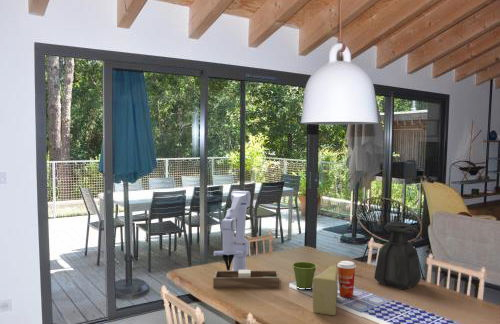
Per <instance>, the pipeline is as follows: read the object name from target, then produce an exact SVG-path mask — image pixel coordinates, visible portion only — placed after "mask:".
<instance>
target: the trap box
mask: <svg viewBox="0 0 500 324" xmlns="http://www.w3.org/2000/svg"><path fill="white" fill-rule="evenodd" d="M212 278H213V279H212V281H213V282H212V283H213V284H212V285H213V288H280V274H279V270H251V278H238V271H232V270H215V271H214V275H213V277H212Z"/></svg>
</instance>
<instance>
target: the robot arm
mask: <svg viewBox="0 0 500 324" xmlns="http://www.w3.org/2000/svg"><path fill="white" fill-rule="evenodd" d="M251 196H252V195H251V192H250V190H232V191H231V193H230V200H231V206H230V208H228V209H227V211H226V213H225V216H224V218H222V219H221V221H220V230H221V234H222V250H214V251H213V256H214V257H215V256H216V257H217V256H222V259H223V262H224V263H225V266H226V271H239V270H248V267H247V256H249V253H250V241H249V240H248V239H247V238H246V237H245V235H246V234H245V233H246V221H247V219H246V217H247V209H248V207H250V206H251V198H252V197H251ZM235 229H236V230H235ZM231 265H232V268H231Z"/></svg>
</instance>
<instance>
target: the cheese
mask: <svg viewBox="0 0 500 324" xmlns="http://www.w3.org/2000/svg"><path fill="white" fill-rule="evenodd" d="M338 287H339V283H338V266H337V265H336V264H335V265H334V264H332V265H330V266H329V267H327V269H325V270H323V272H321V273H319V274H318V275H316V276H314V278H313V284H312V311H313V313H315V314H321V315H327V316H336V313H337V301H338V295H339V294H338V293H339V291H338V290H339V289H338Z"/></svg>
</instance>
